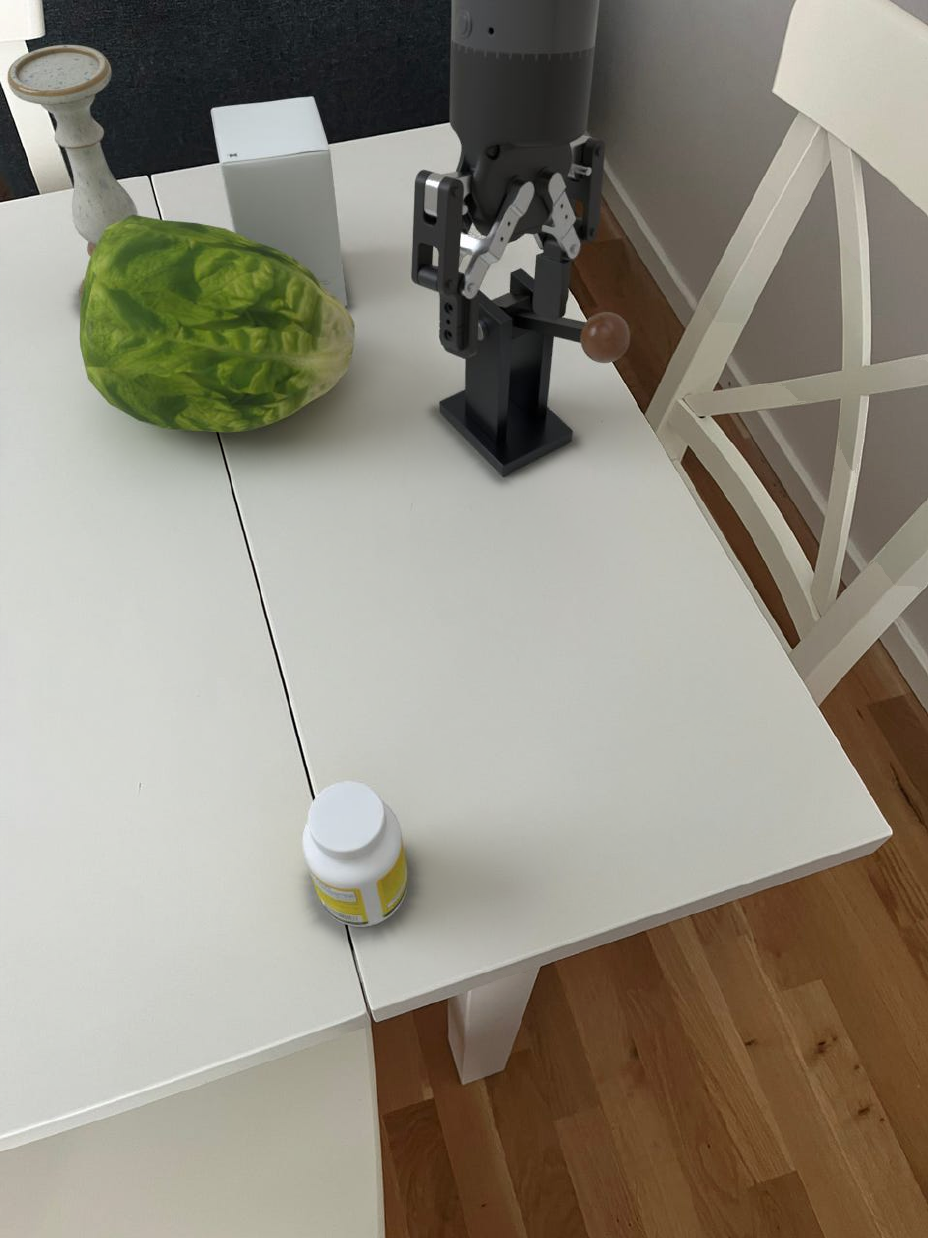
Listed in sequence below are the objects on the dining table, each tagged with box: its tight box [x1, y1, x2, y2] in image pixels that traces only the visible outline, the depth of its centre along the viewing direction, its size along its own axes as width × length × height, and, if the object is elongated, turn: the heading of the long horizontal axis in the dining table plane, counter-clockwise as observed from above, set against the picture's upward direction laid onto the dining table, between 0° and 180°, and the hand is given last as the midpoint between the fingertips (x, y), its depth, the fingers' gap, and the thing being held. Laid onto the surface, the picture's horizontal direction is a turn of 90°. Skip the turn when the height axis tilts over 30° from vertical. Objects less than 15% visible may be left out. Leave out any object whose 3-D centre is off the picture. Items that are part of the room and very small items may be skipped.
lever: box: [491, 292, 631, 364], centre depth 68 cm, size 14×3×3 cm, turn 35°
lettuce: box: [79, 214, 356, 434], centre depth 77 cm, size 16×21×15 cm
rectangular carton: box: [210, 96, 348, 308], centre depth 86 cm, size 9×9×15 cm
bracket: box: [438, 267, 574, 477], centre depth 76 cm, size 9×7×13 cm
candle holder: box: [7, 44, 139, 301], centre depth 83 cm, size 9×9×20 cm
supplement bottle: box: [301, 780, 409, 928], centre depth 55 cm, size 5×5×10 cm
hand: (505, 333), depth 61 cm, fingers open, 8 cm apart
